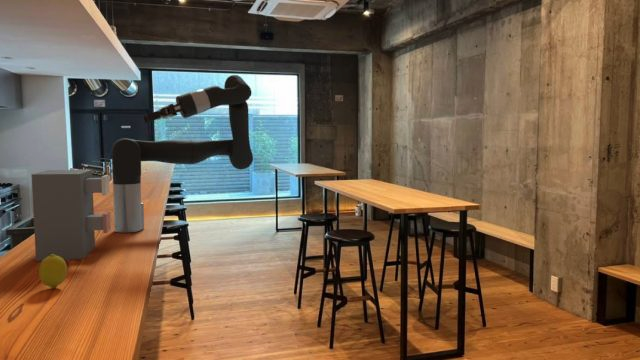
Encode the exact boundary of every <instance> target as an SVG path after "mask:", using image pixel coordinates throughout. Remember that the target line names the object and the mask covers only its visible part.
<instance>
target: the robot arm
mask: <svg viewBox="0 0 640 360" xmlns="http://www.w3.org/2000/svg"><path fill="white" fill-rule="evenodd" d="M223 86H224V87H220V86H219V85H216V84H215V85H211V86H207V87H205V88H203V89H202V88H201V89H198V90H197V89H196V90H193V91H189V92H187V93H184V94H181V95H177V96H176V97H175V104H174V103H170V104H168V105H165V106H163V107H161V108H159V109H158V110H156V111H153V112H151V113H147V114H146V115H143V117H142V119H143V121H144V123H146V124H147V123H151V122H153V121H156V120H158V121H159V120H165V119H168V118H173V117H176V116H178V113H180V115H181V116H182V118H183V119H187V118H190V117H192V116H193V117H194V116H195V115H198V114H202V113H204V112H206V111H209V110H211V109H214V108H217V107H219V106H228V117H229V118H228V119H229V125H230V130H231V136H232V138H229V139H219V140H215V139H214V140H212V139H211V140H198V139H197V140H196V139H194V140H193V139H167V140H158V141H157V140H156V141H153V140H152V141H149V140H139V139H137V140H136V139H132V138H120V139H118V140H116V141H114V143H113V144H112V146H111V150H110V151H111V155H112V156H111V157H112V189H113V190H112V196H113V216H114V217H113V219H114V224H113V225H114V232H115V233H125V234H126V233H135V232H140V231H142V230H144V229H145V213H144V212H145V208H144V207H145V206H144V202H142V186H141V185H142V181H141V178H142V162H158V163H159V162H160V163H165V164H175V165H195V164H199V163H201V162H204V161H205V160H208V159H209V158H211V157H216V156H228V159H229V161H230V164H231V165H232V167H233V168H235V169H236V170H245V169H248V168H249V167H250V166H251V165H252V164H253V162H254V155H253V151H252V149H251V143H250V132H249V131H250V130H249V129H250V127H249V123H250V122H249V105H248V103H247V101H248V100H249V99H250V98H251V96H252V89H251V86H250V85H248V83H247V82H246V81H245V80H244V79H243V78H242V77H241V76H239V75H237V74H231V75H229V76H228V77H226V80H225V81H224V85H223Z"/></svg>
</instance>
